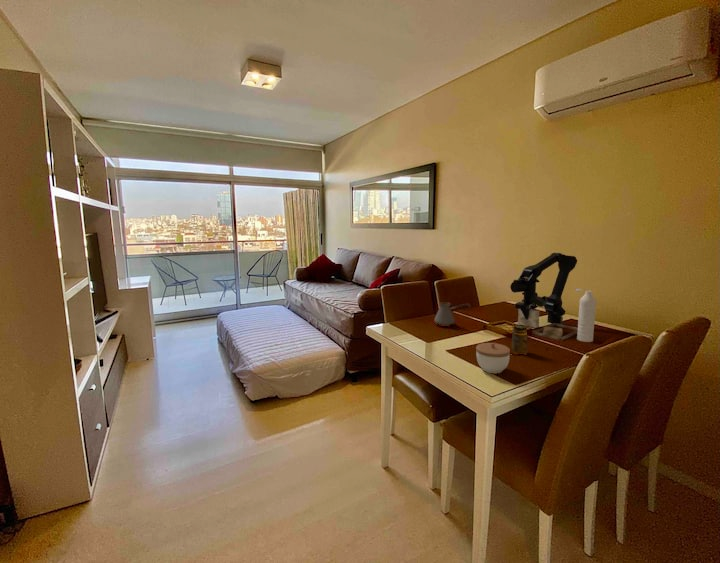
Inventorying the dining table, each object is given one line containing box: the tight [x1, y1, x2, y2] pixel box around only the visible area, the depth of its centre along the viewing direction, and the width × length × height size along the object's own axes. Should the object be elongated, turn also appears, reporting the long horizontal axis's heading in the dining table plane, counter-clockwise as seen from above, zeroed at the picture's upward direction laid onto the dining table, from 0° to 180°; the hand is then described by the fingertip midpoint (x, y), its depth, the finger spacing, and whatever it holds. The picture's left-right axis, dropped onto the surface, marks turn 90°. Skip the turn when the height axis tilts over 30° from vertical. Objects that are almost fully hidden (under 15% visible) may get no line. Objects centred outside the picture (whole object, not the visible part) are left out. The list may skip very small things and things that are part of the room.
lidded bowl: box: [475, 342, 511, 375], centre depth 135 cm, size 13×13×11 cm
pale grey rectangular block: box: [517, 309, 541, 329], centre depth 186 cm, size 10×3×9 cm, turn 36°
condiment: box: [511, 324, 528, 353], centre depth 152 cm, size 7×8×12 cm
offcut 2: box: [542, 330, 564, 338], centre depth 172 cm, size 8×5×2 cm, turn 51°
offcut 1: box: [543, 325, 563, 334], centre depth 171 cm, size 8×5×2 cm, turn 60°
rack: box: [531, 323, 578, 342], centre depth 175 cm, size 14×23×2 cm, turn 126°
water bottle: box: [575, 288, 597, 343], centre depth 162 cm, size 9×6×25 cm
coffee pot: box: [433, 301, 470, 325], centre depth 193 cm, size 21×12×15 cm, turn 44°
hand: (528, 318), depth 186 cm, fingers closed on pale grey rectangular block, 3 cm apart
